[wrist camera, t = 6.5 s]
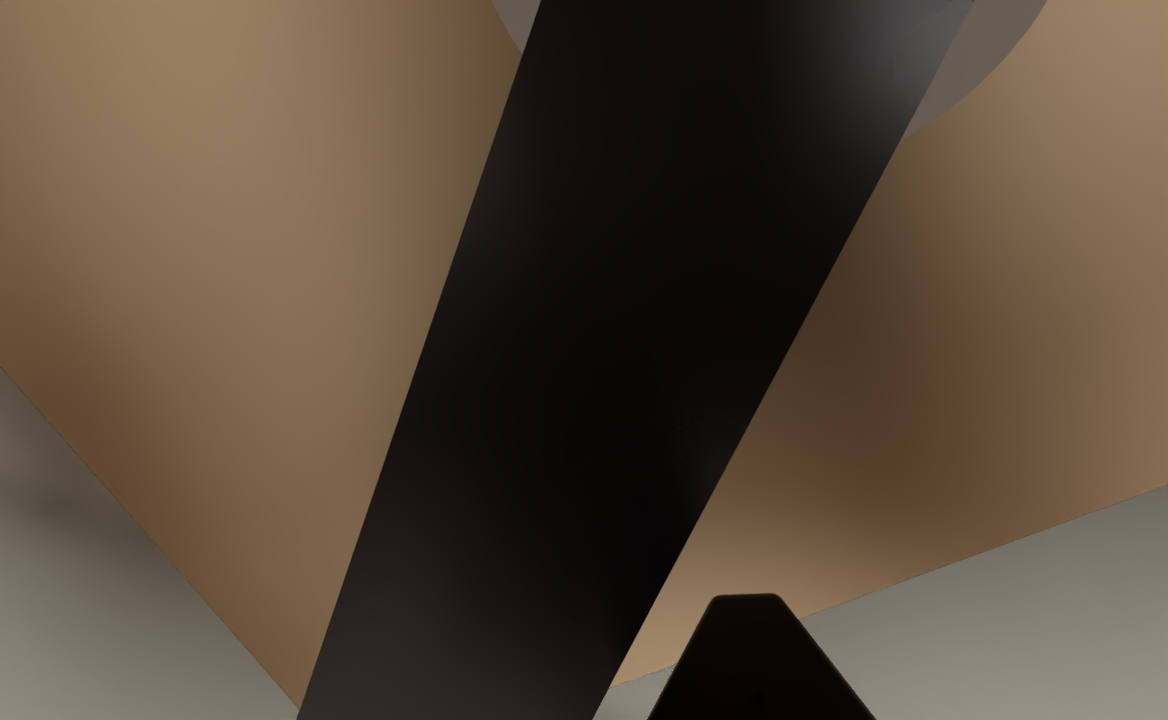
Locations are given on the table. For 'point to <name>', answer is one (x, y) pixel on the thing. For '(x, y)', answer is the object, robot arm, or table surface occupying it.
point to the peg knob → (619, 328)
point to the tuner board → (425, 252)
